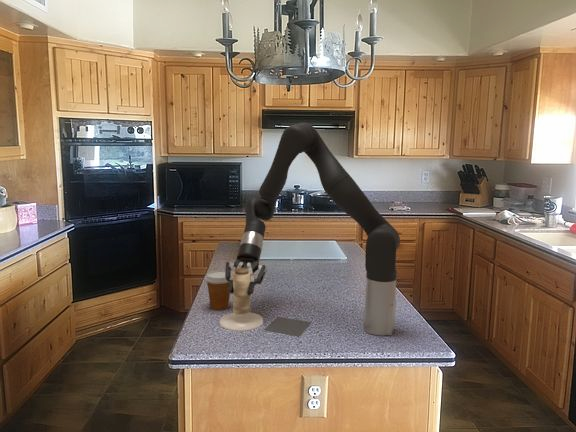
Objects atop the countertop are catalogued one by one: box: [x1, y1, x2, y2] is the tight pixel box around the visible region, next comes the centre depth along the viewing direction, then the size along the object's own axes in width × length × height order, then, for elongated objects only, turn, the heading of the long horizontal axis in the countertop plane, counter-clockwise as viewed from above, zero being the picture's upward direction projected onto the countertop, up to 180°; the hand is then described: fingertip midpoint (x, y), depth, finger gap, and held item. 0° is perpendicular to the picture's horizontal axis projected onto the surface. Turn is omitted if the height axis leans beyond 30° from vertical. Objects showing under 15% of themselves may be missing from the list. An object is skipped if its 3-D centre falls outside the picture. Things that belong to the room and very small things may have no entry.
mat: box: [263, 316, 313, 338], centre depth 150 cm, size 12×12×1 cm
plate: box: [219, 311, 264, 332], centre depth 152 cm, size 14×14×1 cm
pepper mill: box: [232, 268, 251, 314], centre depth 150 cm, size 5×5×14 cm
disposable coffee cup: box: [205, 270, 233, 311], centre depth 165 cm, size 10×10×12 cm
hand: (239, 293), depth 149 cm, fingers closed on pepper mill, 5 cm apart
